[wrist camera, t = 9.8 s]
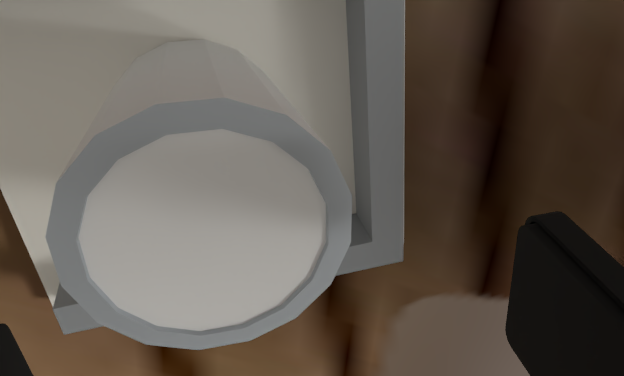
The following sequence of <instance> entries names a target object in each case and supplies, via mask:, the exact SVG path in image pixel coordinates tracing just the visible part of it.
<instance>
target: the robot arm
mask: <svg viewBox="0 0 624 376" xmlns="http://www.w3.org/2000/svg"><path fill="white" fill-rule="evenodd" d="M507 313H508V314H507V321H506V335H507V339H508V342H509V344H510V346H511V347H512V349H513V351H514V352H515V354H516V355H517V356H518V358H519V359H520V361H521V362H522V364H523V365H524V367H525V368H526V370H527V371H528V373H529V374H530V376H624V267H623V266H622V265H620V264H619V263H618V262H617V261H616V260H615V259H614V258H613V257H612V256H611V255H609V254H608V253H607V252H606V251H605V250H604V249H603V248H602V247H601V246H600V245H598V244H597V243H596V242H595V241H594V240H593V239H592V238H591V237H590V236H588V235H587V234H586V233H585V232H584V231H583V230H582V229H581V228H580V227H579V226H577V225H576V224H575V223H574V222H573V221H572V220H571V219H570V218H569V217H568V216H566V215H565V214H564V213H562V212H558V211H557V212H551V213H546V214H541V215H535V216H531V217H529V218H528V219H527V220H526V223H525V225H523V226H521V227H520V228H519V230H518V236H517V243H516V251H515V259H514V266H513V274H512V282H511V289H510V297H509V305H508V312H507ZM0 376H33V374H32V372H31V370H30V368H29V366H28V364H27V362H26V360H25V358H24V356H23V354H22V352H21V350H20V348H19V346H18V344H17V342H16V341H15V339H14V337H13V335H12V333H11V331H10V329H9V327H8V326H7V325H6V324H0Z"/></svg>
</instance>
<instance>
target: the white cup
mask: <svg viewBox="0 0 624 376" xmlns="http://www.w3.org/2000/svg"><path fill="white" fill-rule="evenodd" d="M351 225H352V194H351V192H350V190H349V188H348V186H347V184H346V182H345V179H344V177H343V175H342V173H341V171H340V169H339V167H338V165H337V163H336V161H335V158H334V156H333V154H332V152H331V150H330V149H329V148H328V147H327V146H326V144H325V143H324V142H323V141H322V140H321V139H320V137H319V136H318V135H317V134H316V133H315V131H314V130H313V129H312V128H311V127H310V126H309V124H308V123H307V122H306V121H305V120H304V119H303V117H302V116H301V115H300V114H299V113H298V112H297V110H296V109H295V108H294V107H293V106H292V105H291V103H290V102H289V101H288V100H287V99H286V98H285V96H284V95H283V94H282V93H281V92H280V90H279V89H278V88H277V87H276V86H275V85H274V83H273V82H272V81H271V80H270V79H269V78H268V76H267V75H266V74H265V73H264V72H263V71H262V70H261V69H260V68H259V67H257V66H256V65H255V64H254V63H253V62H251V61H250V60H249V59H248V58H247V57H245V56H244V55H243V54H242V53H241V52H239V51H238V50H236V49H233V48H230V47H227V46H223V45H220V44H217V43H214V42H211V41H208V40H205V39H200V40H187V41H174V42H167V43H165V44H163V45H161V46H159V47H157V48H155V49H153V50H151V51H149V52H147V53H145V54H143V55H141V56H139V57H137V58H136V59H135V60H134V61H133V63H132V64H131V65H130V66H129V68H128V69H127V70H126V71H125V73H124V74H123V75H122V76H121V78H120V79H119V80H118V81H117V83H116V84H115V85H114V87H113V89H112V90H111V92H110V94H109V95H108V97H107V99H106V100H105V102H104V104H103V105H102V107H101V109H100V110H99V112H98V114H97V115H96V117H95V119H94V120H93V122H92V124H91V126H90V127H89V129H88V131H87V132H86V134H85V136H84V137H83V139H82V141H81V142H80V144H79V146H78V147H77V149H76V151H75V152H74V154H73V156H72V157H71V159H70V161H69V162H68V164H67V166H66V167H65V169H64V171H63V172H62V174H61V176H60V177H59V179H58V181H57V182H56V186H55V191H54V196H53V201H52V206H51V211H50V216H49V221H48V226H47V231H46V236H45V238H46V241H47V244H48V247H49V250H50V253H51V256H52V259H53V262H54V265H55V268H56V271H57V274H58V278H59V281H60V284H61V286H62V287H63V288H64V289H65V290H66V291H67V292H68V293H69V294H70V296H71V297H72V298H73V299H74V300H75V301H76V302H77V303H78V304H79V305H80V306H81V307H82V308H83V309H84V310H85V311H86V312H87V313H88V314H89V315H90V316H91V317H92V318H93V319H94V320H95V321H96V322H97V323H99V324H101V325H103V326H105V327H108V328H110V329H112V330H114V331H117V332H119V333H121V334H123V335H126V336H128V337H130V338H132V339H134V340H137V341H139V342H141V343H143V344H146V345H155V346H165V347H174V348H184V349H193V350H202V349H207V348H213V347H218V346H224V345H230V344H235V343H241V342H246V341H251V340H253V339H255V338H257V337H259V336H261V335H263V334H265V333H267V332H269V331H271V330H273V329H275V328H277V327H279V326H281V325H283V324H285V323H287V322H289V321H291V320H293V319H295V318H297V317H298V316H299V315H300V314H301V313H302V312H303V311H304V310H305V309H306V308H307V307H308V306H309V305H310V304H311V303H312V302H313V301H314V300H315V299H316V298H317V297H318V296H319V295H321V294H322V293H323V292H324V291H325V290H326V289H327V288H328V287H329V286H330V285H331V283H332V281H333V279H334V277H335V275H336V273H337V271H338V269H339V267H340V264H341V262H342V260H343V258H344V256H345V254H346V252H347V250H348V248H349V246H350V243H351Z"/></svg>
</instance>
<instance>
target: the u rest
mask: <svg viewBox="0 0 624 376" xmlns="http://www.w3.org/2000/svg"><path fill="white" fill-rule="evenodd" d="M200 39H205V40H208V41H211V42H214V43H217V44H220V45H223V46H227V47H230V48H233V49H236V50H238V51H239V52H241V53H242V54H243V55H244V56H245V57H247V58H248V59H249V60H250V61H251V62H253V63H254V64H255V65H256V66H257V67H259V68H260V69H261V70H262V71H263V72H264V73H265V74H266V75H267V76H268V78H269V79H270V80H271V81H272V82H273V83H274V85H275V86H276V87H277V88H278V89H279V90H280V92H281V93H282V94H283V95H284V96H285V98H286V99H287V100H288V101H289V102H290V103H291V105H292V106H293V107H294V108H295V109H296V110H297V112H298V113H299V114H300V115H301V116H302V117H303V119H304V120H305V121H306V122H307V123H308V124H309V126H310V127H311V128H312V129H313V130H314V131H315V133H316V134H317V135H318V136H319V137H320V139H321V140H322V141H323V142H324V143H325V144H326V146H327V147H328V148H329V149H330V150H331V152H332V154H333V156H334V158H335V161H336V163H337V165H338V167H339V169H340V171H341V173H342V175H343V177H344V179H345V182H346V184H347V186H348V188H349V190H350V192H351V194H352V225H351V243H350V246H349V248H348V250H347V252H346V254H345V256H344V258H343V260H342V262H341V264H340V267H339V269H338V271H337V273H336V275H335V276H337V275H341V274H346V273H351V272H355V271H360V270H364V269H369V268H374V267H378V266H383V265H388V264H392V263H397V262H401V261H403V244H404V124H405V0H0V189H1V191H2V194H3V196H4V198H5V200H6V203H7V205H8V207H9V209H10V212H11V214H12V216H13V218H14V221H15V223H16V225H17V227H18V230H19V232H20V234H21V236H22V239H23V241H24V243H25V245H26V247H27V250H28V252H29V254H30V256H31V259H32V261H33V263H34V265H35V268H36V270H37V272H38V274H39V277H40V279H41V281H42V283H43V286H44V288H45V290H46V292H47V295H48V297H49V299H50V301H51V304H52V306H53V311H54V313H55V316H56V318H57V320H58V322H59V325H60V327H61V329H62V331H63V334H64V335H65V334H70V333H74V332H79V331H83V330H88V329H93V328H97V327H102V326H103V325H101V324H99V323H97V322H96V321H95V320H94V319H93V318H92V317H91V316H90V315H89V314H88V313H87V312H86V311H85V310H84V309H83V308H82V307H81V306H80V305H79V304H78V303H77V302H76V301H75V300H74V299H73V298H72V297H71V296H70V294H69V293H68V292H67V291H66V290H65V289H64V288H63V287H62V286H61V284H60V281H59V278H58V274H57V271H56V268H55V265H54V262H53V259H52V256H51V253H50V250H49V247H48V244H47V241H46V238H45V236H46V231H47V226H48V221H49V216H50V211H51V206H52V201H53V196H54V191H55V186H56V182H57V181H58V179H59V177H60V176H61V174H62V172H63V171H64V169H65V167H66V166H67V164H68V162H69V161H70V159H71V157H72V156H73V154H74V152H75V151H76V149H77V147H78V146H79V144H80V142H81V141H82V139H83V137H84V136H85V134H86V132H87V131H88V129H89V127H90V126H91V124H92V122H93V120H94V119H95V117H96V115H97V114H98V112H99V110H100V109H101V107H102V105H103V104H104V102H105V100H106V99H107V97H108V95H109V94H110V92H111V90H112V89H113V87H114V85H115V84H116V83H117V81H118V80H119V79H120V78H121V76H122V75H123V74H124V73H125V71H126V70H127V69H128V68H129V66H130V65H131V64H132V63H133V61H134V60H135V59H136V58H137V57H139V56H141V55H143V54H145V53H147V52H149V51H151V50H153V49H155V48H157V47H159V46H161V45H163V44H165V43H167V42H174V41H187V40H200Z"/></svg>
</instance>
